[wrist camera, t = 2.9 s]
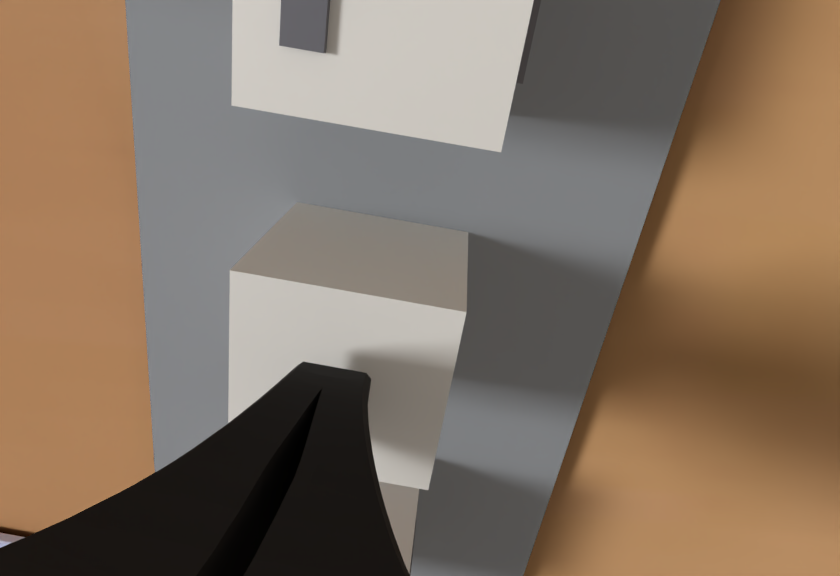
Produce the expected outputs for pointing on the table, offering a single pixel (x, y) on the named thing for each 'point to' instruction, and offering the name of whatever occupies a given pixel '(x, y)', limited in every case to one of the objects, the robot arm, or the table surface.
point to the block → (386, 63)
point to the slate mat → (430, 205)
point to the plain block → (355, 321)
